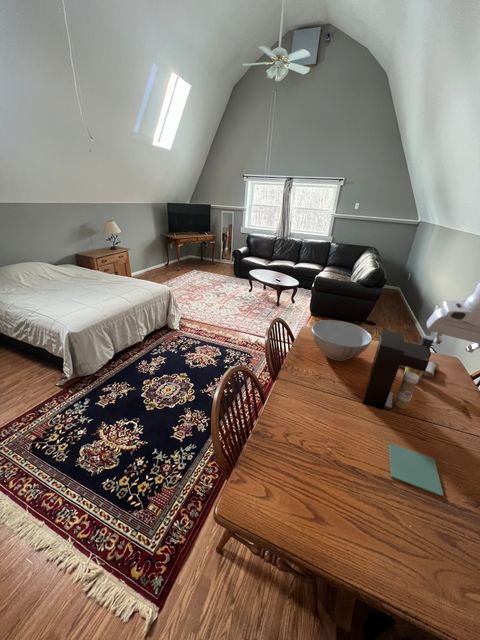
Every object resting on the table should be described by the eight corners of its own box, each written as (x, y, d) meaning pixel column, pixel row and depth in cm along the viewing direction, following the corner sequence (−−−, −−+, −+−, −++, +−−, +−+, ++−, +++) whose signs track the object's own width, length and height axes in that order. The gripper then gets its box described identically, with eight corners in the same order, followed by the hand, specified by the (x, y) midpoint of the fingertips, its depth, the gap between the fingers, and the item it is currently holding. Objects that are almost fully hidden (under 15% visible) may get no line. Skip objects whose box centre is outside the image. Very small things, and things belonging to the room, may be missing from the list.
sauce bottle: (401, 376, 116) (415, 336, 108) (406, 371, 120) (420, 331, 111) (417, 384, 111) (434, 342, 103) (422, 378, 115) (439, 337, 107)
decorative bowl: (360, 377, 114) (367, 353, 109) (300, 357, 126) (304, 334, 121) (369, 350, 135) (375, 329, 130) (317, 335, 147) (320, 315, 142)
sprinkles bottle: (397, 408, 97) (408, 378, 92) (391, 400, 102) (402, 370, 96) (410, 409, 97) (422, 379, 92) (404, 401, 101) (415, 371, 96)
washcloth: (393, 353, 134) (395, 347, 132) (435, 367, 124) (438, 361, 122) (387, 362, 125) (389, 357, 124) (432, 379, 115) (434, 373, 114)
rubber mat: (434, 459, 78) (434, 458, 78) (443, 497, 68) (443, 495, 68) (388, 444, 83) (389, 443, 83) (391, 477, 73) (391, 476, 73)
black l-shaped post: (406, 396, 104) (428, 339, 94) (407, 419, 93) (431, 358, 82) (366, 383, 110) (382, 329, 100) (362, 403, 99) (380, 345, 89)
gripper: (515, 316, 79) (485, 349, 88) (438, 299, 84) (417, 332, 93) (524, 329, 74) (491, 363, 83) (442, 310, 79) (420, 343, 88)
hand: (452, 346), depth 88 cm, fingers open, 8 cm apart
